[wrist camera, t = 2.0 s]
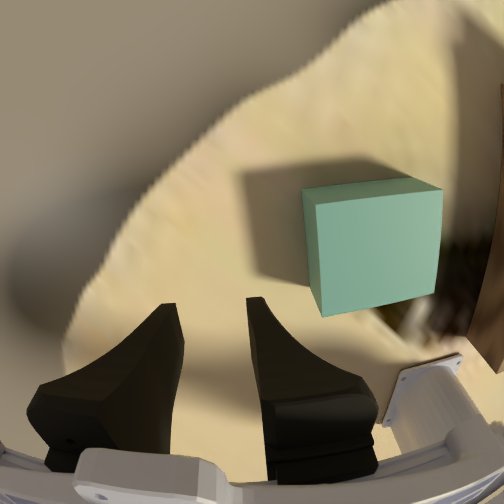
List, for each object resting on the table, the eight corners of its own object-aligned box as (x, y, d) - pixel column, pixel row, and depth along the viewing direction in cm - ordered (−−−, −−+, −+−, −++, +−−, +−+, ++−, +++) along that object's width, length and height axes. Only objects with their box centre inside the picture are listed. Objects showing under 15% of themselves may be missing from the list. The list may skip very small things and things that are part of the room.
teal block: (408, 267, 22) (433, 292, 18) (309, 285, 22) (322, 317, 19) (410, 176, 19) (442, 189, 16) (300, 188, 19) (315, 204, 16)
